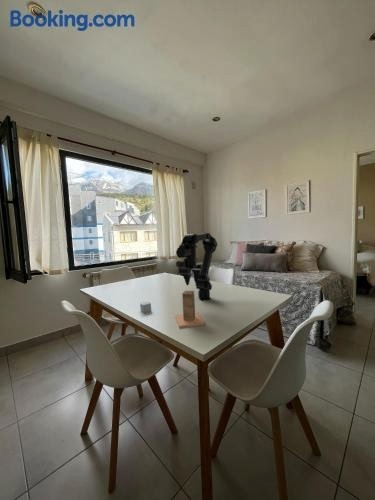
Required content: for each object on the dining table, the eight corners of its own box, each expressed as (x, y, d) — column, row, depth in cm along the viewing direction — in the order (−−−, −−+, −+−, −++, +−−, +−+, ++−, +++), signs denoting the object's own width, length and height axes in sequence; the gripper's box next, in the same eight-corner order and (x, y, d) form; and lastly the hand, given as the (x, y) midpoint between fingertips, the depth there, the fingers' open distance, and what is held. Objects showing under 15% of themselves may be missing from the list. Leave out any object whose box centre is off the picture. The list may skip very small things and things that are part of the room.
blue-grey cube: (148, 308, 116) (147, 301, 115) (151, 311, 112) (150, 303, 111) (140, 310, 113) (140, 302, 113) (143, 313, 109) (142, 305, 109)
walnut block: (186, 316, 100) (185, 290, 99) (195, 317, 99) (194, 290, 98) (183, 320, 96) (182, 293, 95) (192, 321, 95) (191, 293, 94)
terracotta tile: (198, 314, 105) (198, 312, 105) (205, 324, 93) (205, 322, 93) (175, 317, 103) (175, 315, 102) (179, 327, 91) (179, 325, 91)
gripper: (187, 254, 127) (187, 279, 129) (169, 257, 111) (170, 285, 112) (203, 254, 122) (203, 280, 123) (187, 258, 106) (188, 287, 107)
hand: (191, 283), depth 116 cm, fingers open, 9 cm apart
